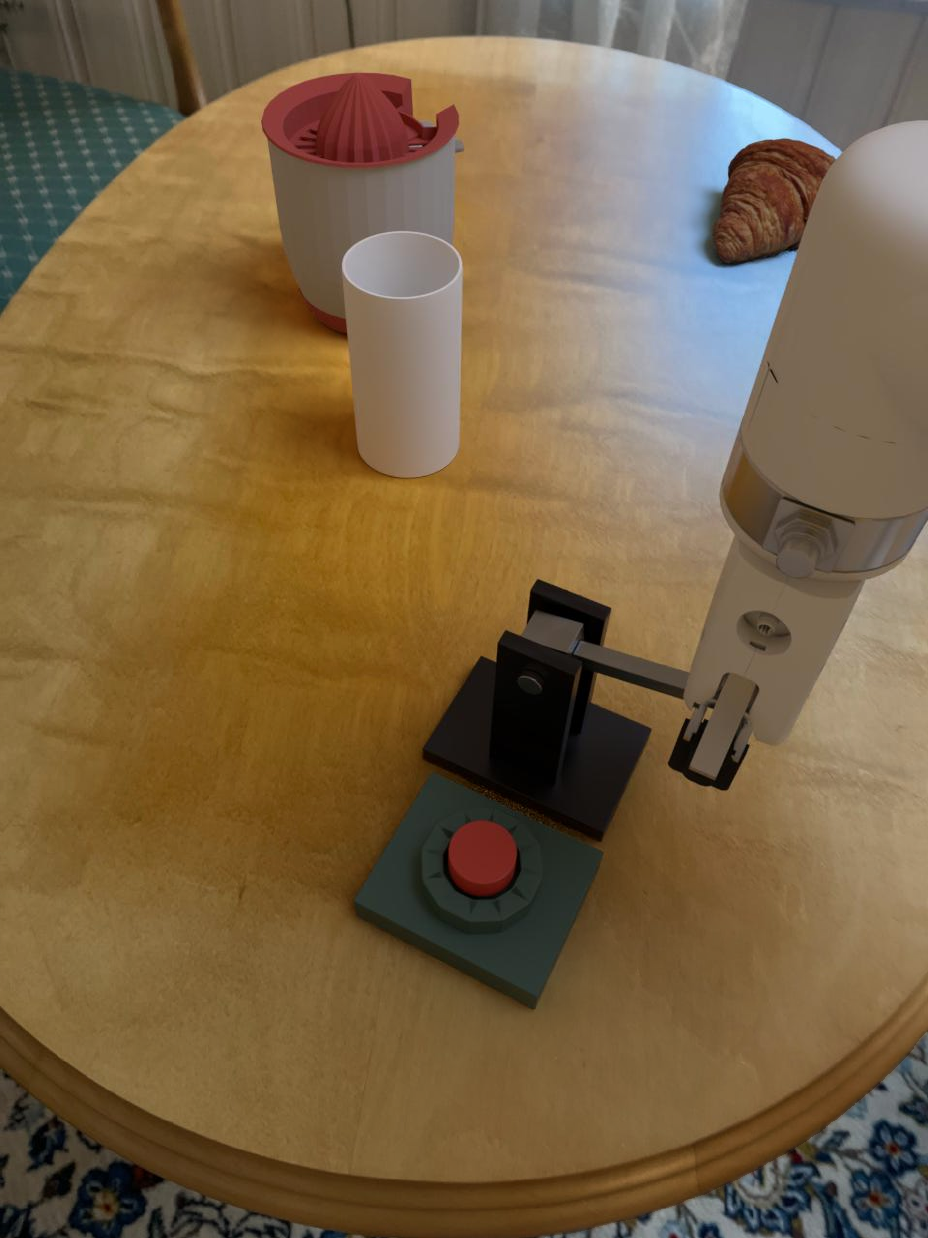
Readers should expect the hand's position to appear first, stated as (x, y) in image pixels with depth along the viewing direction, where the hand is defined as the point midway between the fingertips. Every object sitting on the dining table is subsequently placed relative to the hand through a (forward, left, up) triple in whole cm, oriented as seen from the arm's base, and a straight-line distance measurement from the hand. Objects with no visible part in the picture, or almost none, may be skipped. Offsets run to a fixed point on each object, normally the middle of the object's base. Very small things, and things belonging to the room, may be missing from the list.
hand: (716, 729), depth 51 cm
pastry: (+14, -68, -10) cm, 70 cm away
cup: (+31, -21, -10) cm, 38 cm away
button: (+9, +10, -6) cm, 15 cm away
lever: (+5, 0, +1) cm, 5 cm away
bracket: (+10, 0, -10) cm, 14 cm away
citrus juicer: (+43, -37, -10) cm, 57 cm away
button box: (+9, +10, -10) cm, 16 cm away
